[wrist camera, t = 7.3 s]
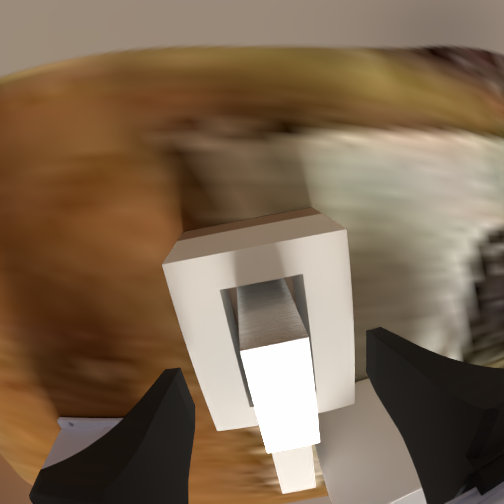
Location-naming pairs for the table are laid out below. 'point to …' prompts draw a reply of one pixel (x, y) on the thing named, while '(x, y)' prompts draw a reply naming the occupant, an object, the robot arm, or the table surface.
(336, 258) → the slotted upright plate
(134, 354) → the table surface
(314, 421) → the white upright block
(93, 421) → the robot arm
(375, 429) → the mug
